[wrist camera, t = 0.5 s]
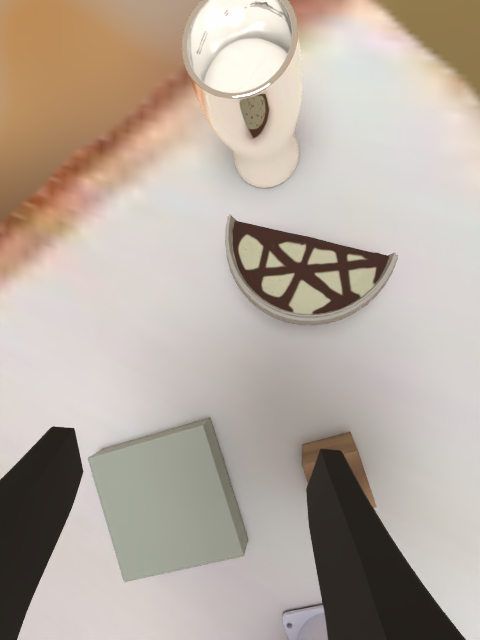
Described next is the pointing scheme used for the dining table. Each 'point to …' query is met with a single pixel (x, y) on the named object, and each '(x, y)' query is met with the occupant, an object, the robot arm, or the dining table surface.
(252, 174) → the beer glass
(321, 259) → the food container
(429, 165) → the dining table surface
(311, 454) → the walnut block
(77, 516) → the dining table surface
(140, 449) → the grey platform
